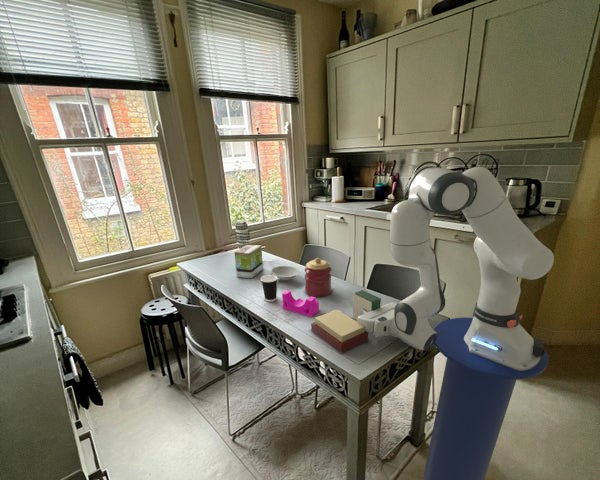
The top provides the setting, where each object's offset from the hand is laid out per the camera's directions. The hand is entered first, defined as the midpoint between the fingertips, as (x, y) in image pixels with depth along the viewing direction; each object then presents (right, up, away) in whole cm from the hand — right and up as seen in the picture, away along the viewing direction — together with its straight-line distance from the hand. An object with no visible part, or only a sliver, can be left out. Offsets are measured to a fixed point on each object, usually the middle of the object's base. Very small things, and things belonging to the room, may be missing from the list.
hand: (366, 308), depth 126 cm
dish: (-35, +12, +46) cm, 59 cm away
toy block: (-26, -2, +15) cm, 30 cm away
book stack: (-12, -10, -5) cm, 16 cm away
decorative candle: (-62, +26, +77) cm, 102 cm away
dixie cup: (-41, +2, +25) cm, 48 cm away
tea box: (-55, +17, +56) cm, 81 cm away
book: (0, -6, +3) cm, 7 cm away
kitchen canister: (-18, +6, +31) cm, 36 cm away
